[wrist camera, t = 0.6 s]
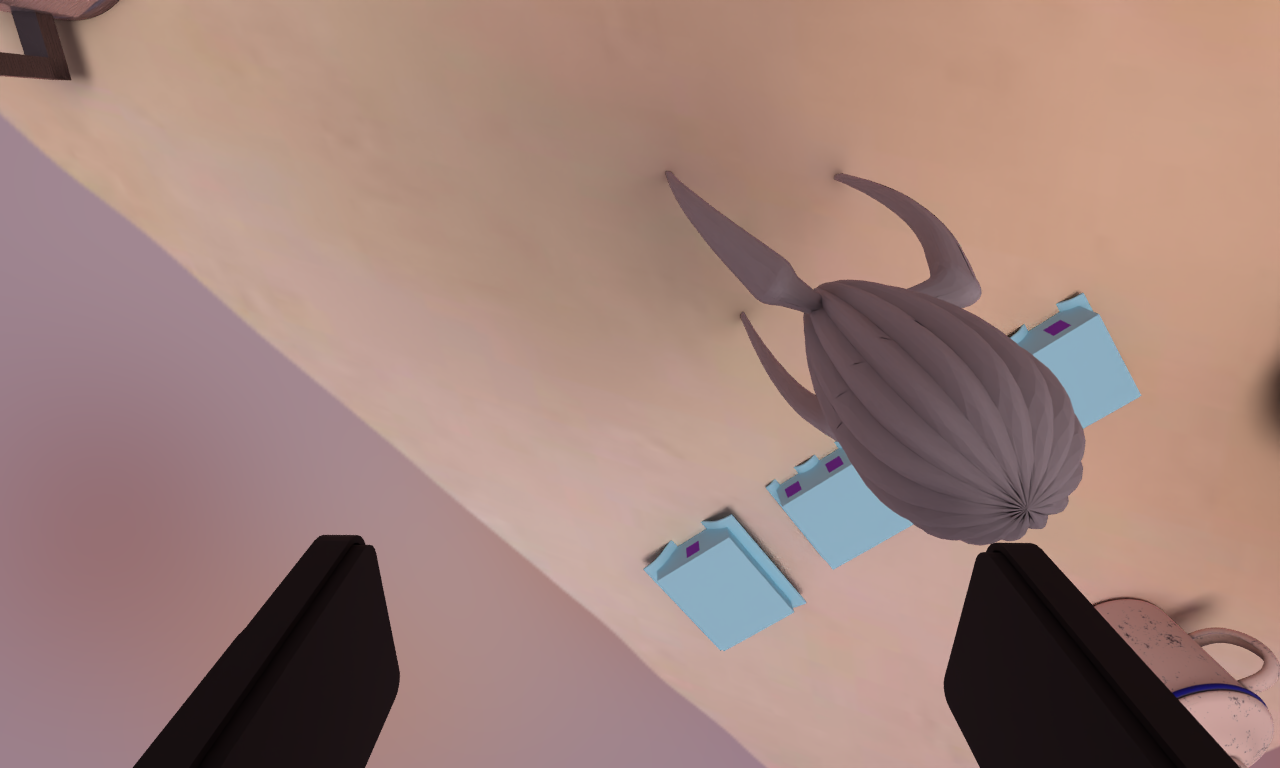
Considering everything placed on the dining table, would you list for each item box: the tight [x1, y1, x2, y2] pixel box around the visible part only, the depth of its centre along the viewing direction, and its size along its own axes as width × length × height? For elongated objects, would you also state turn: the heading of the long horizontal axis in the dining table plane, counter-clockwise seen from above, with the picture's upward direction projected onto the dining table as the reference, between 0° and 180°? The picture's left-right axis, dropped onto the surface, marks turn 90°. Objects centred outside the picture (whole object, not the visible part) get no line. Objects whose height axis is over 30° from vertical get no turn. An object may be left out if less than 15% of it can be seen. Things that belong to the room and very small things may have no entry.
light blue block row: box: [644, 293, 1141, 651], centre depth 44 cm, size 34×3×10 cm
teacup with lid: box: [1094, 599, 1280, 768], centre depth 44 cm, size 12×9×12 cm
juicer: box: [665, 171, 1085, 545], centre depth 24 cm, size 10×9×30 cm
